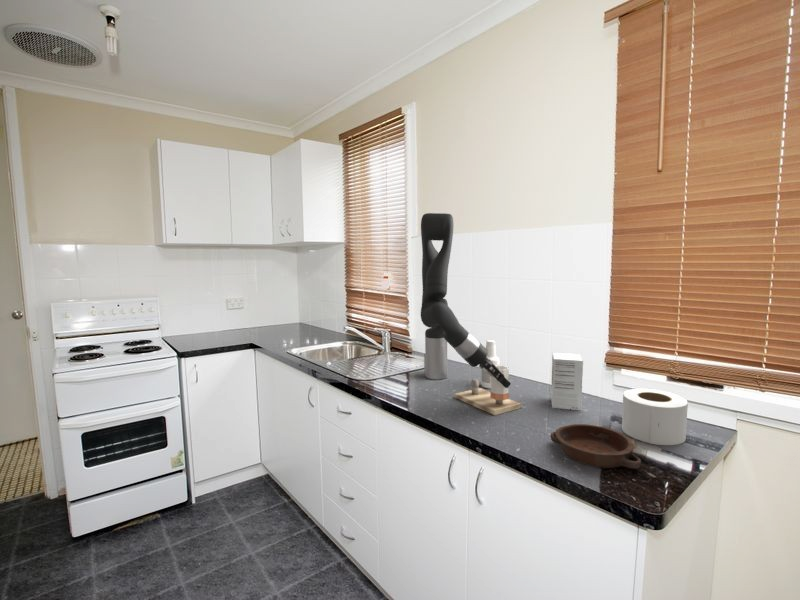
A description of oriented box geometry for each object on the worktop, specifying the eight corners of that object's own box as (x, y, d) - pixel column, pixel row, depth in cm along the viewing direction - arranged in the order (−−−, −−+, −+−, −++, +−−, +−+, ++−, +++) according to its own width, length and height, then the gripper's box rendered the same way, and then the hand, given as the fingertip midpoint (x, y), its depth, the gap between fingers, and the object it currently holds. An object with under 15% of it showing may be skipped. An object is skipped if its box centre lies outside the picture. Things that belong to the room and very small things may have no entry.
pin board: (454, 397, 149) (454, 380, 149) (480, 391, 155) (480, 374, 155) (494, 415, 132) (494, 395, 132) (521, 407, 138) (521, 389, 138)
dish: (565, 432, 119) (565, 416, 119) (652, 458, 103) (653, 439, 103) (535, 453, 107) (536, 434, 106) (628, 486, 91) (629, 464, 91)
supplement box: (550, 398, 147) (551, 352, 145) (578, 401, 144) (580, 353, 142) (551, 408, 138) (553, 358, 136) (581, 411, 135) (583, 360, 133)
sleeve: (486, 396, 139) (487, 367, 138) (499, 393, 142) (499, 364, 141) (499, 401, 134) (499, 371, 133) (512, 398, 137) (512, 368, 136)
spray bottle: (484, 382, 167) (485, 338, 165) (501, 385, 163) (502, 340, 161) (478, 387, 161) (479, 341, 159) (496, 389, 157) (496, 343, 156)
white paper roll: (671, 451, 107) (673, 410, 106) (611, 431, 119) (613, 395, 118) (694, 435, 116) (697, 398, 115) (637, 418, 128) (638, 384, 127)
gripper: (485, 345, 128) (521, 381, 131) (471, 336, 143) (504, 369, 145) (468, 362, 128) (505, 398, 131) (456, 352, 142) (489, 384, 145)
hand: (504, 382), depth 138 cm, fingers closed on sleeve, 6 cm apart
